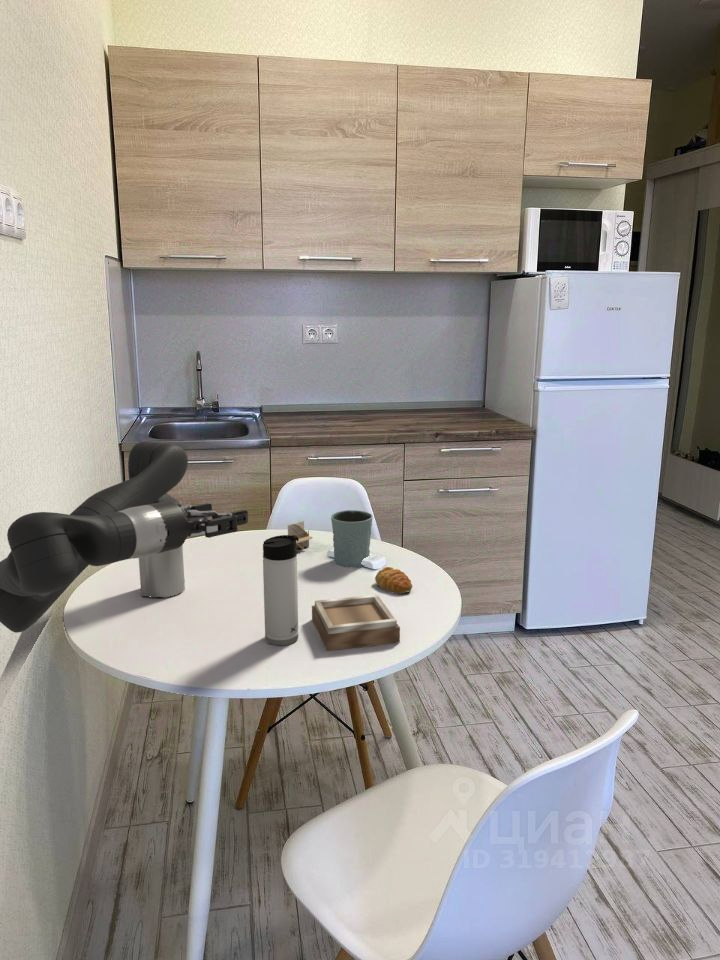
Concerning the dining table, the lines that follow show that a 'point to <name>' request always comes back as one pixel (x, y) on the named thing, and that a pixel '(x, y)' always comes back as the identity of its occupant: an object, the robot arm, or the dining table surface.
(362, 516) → the green cup
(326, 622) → the square wooden tray
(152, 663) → the dining table surface
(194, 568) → the dining table surface
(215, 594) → the dining table surface
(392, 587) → the pastry
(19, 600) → the robot arm
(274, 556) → the travel mug
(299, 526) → the architectural model
